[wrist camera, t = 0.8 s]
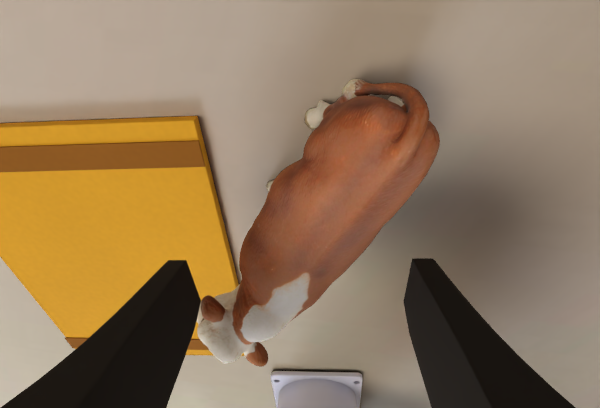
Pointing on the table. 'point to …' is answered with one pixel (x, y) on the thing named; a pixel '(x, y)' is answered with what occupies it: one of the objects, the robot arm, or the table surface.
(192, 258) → the towel
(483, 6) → the table surface
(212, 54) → the table surface
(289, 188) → the bull figurine
